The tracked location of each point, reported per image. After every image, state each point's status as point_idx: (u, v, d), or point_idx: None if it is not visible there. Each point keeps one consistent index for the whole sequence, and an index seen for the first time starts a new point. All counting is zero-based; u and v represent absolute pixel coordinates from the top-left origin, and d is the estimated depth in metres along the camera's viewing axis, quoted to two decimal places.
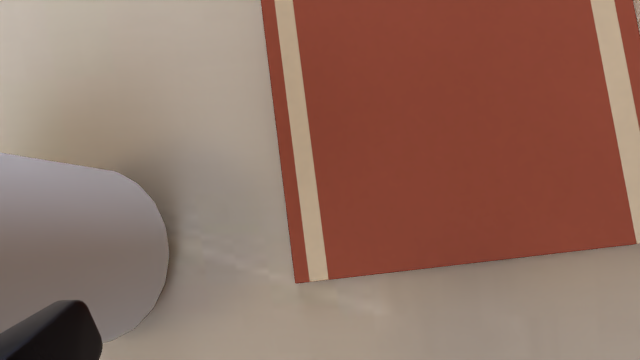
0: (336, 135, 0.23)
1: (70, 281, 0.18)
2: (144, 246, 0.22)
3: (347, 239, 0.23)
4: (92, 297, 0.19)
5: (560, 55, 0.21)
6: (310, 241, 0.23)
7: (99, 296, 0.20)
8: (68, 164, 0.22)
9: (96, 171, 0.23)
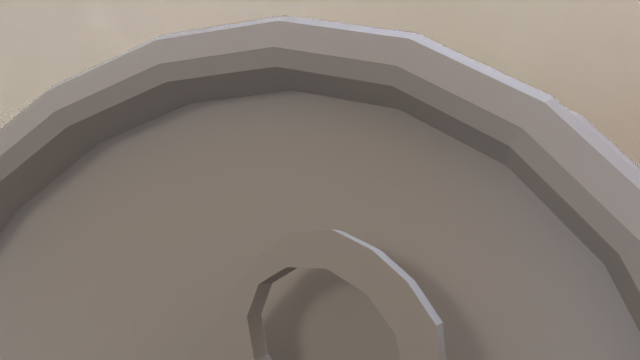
0: None
1: None
2: None
3: None
4: None
5: None
6: None
7: None
8: None
9: None
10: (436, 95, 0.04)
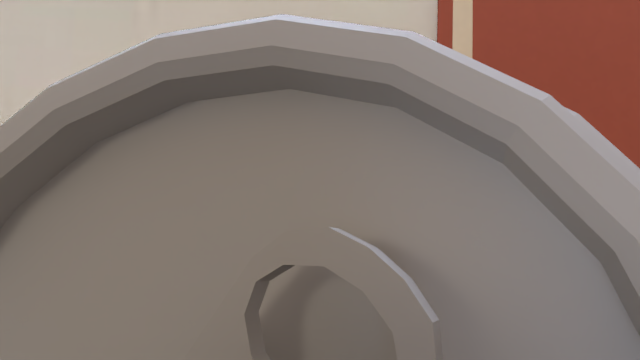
0: None
1: None
2: None
3: None
4: None
5: None
6: None
7: None
8: None
9: None
10: (433, 93, 0.04)
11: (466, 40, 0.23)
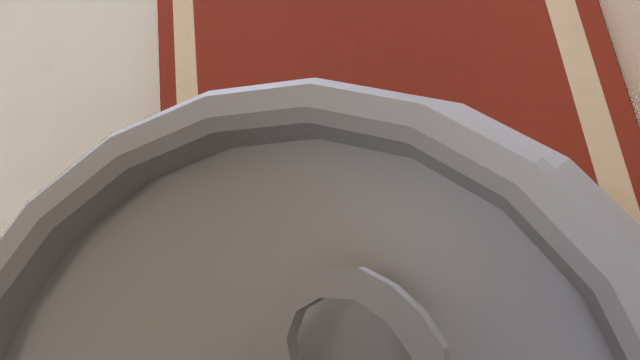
0: None
1: None
2: None
3: None
4: None
5: None
6: None
7: None
8: None
9: None
10: (444, 153, 0.04)
11: (187, 16, 0.20)
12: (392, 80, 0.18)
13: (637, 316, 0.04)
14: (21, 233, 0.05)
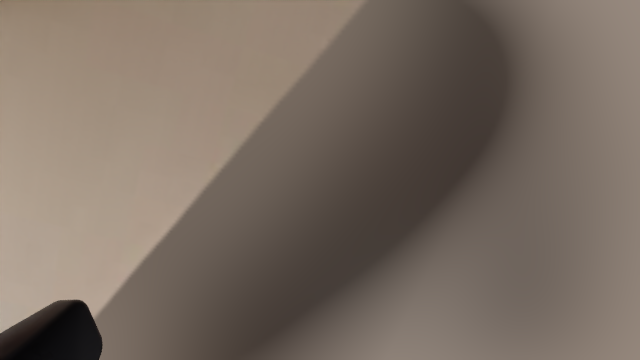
0: None
1: None
2: None
3: None
4: None
5: None
6: None
7: None
8: None
9: None
10: None
11: None
12: None
13: None
14: None
